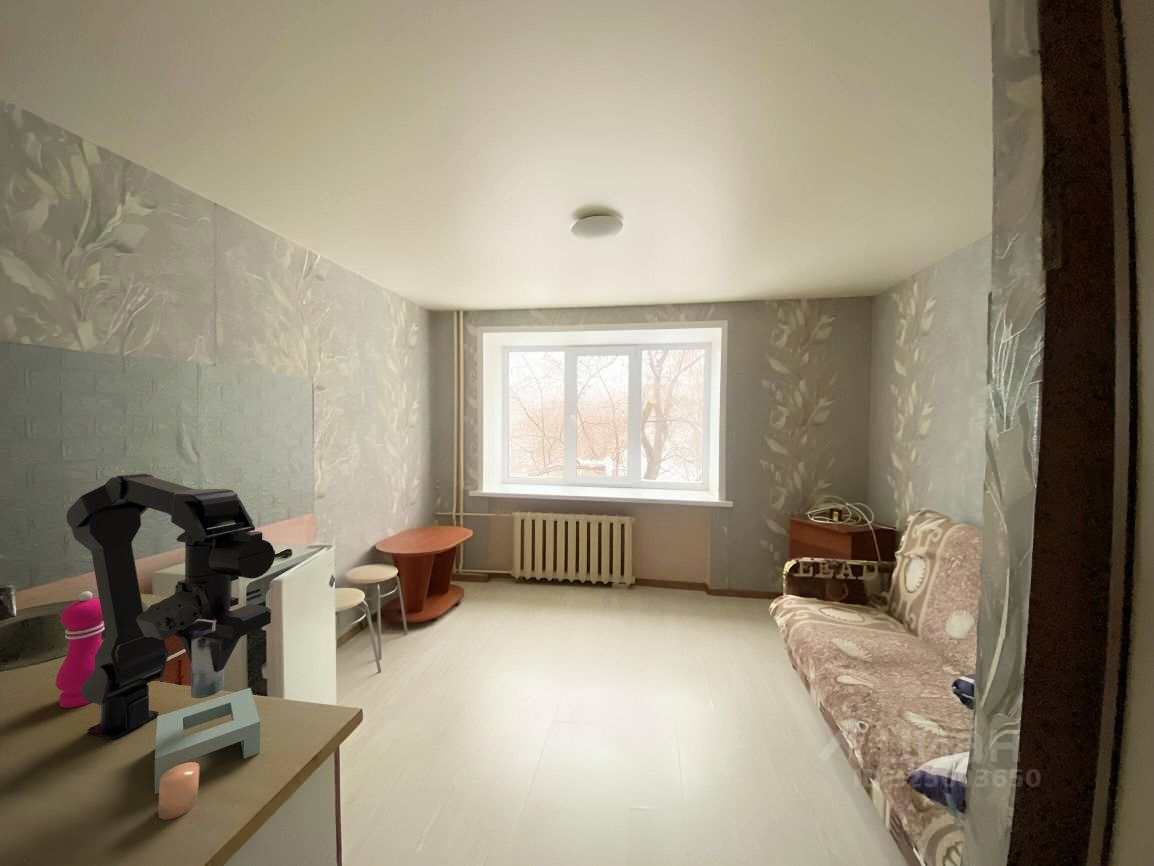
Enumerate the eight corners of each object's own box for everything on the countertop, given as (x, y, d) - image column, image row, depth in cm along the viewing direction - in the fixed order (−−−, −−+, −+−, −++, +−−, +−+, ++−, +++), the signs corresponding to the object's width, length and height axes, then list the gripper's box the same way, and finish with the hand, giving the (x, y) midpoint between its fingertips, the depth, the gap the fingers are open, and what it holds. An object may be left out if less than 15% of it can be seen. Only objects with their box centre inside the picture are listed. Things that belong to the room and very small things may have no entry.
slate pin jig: (157, 747, 71) (157, 716, 70) (250, 715, 79) (250, 687, 79) (154, 794, 62) (154, 758, 62) (259, 752, 70) (260, 721, 70)
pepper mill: (74, 712, 79) (74, 600, 79) (44, 706, 80) (44, 597, 80) (123, 689, 86) (123, 586, 86) (94, 684, 87) (95, 583, 87)
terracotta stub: (149, 816, 58) (151, 782, 58) (180, 792, 62) (181, 760, 62) (176, 821, 58) (178, 787, 57) (205, 796, 61) (207, 764, 61)
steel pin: (184, 696, 69) (184, 638, 68) (211, 681, 72) (211, 627, 72) (204, 700, 68) (204, 641, 67) (230, 685, 71) (230, 630, 71)
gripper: (101, 581, 64) (100, 688, 64) (200, 595, 60) (199, 710, 60) (185, 560, 75) (184, 651, 75) (274, 570, 71) (273, 667, 71)
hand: (208, 668), depth 70 cm, fingers closed on steel pin, 4 cm apart
